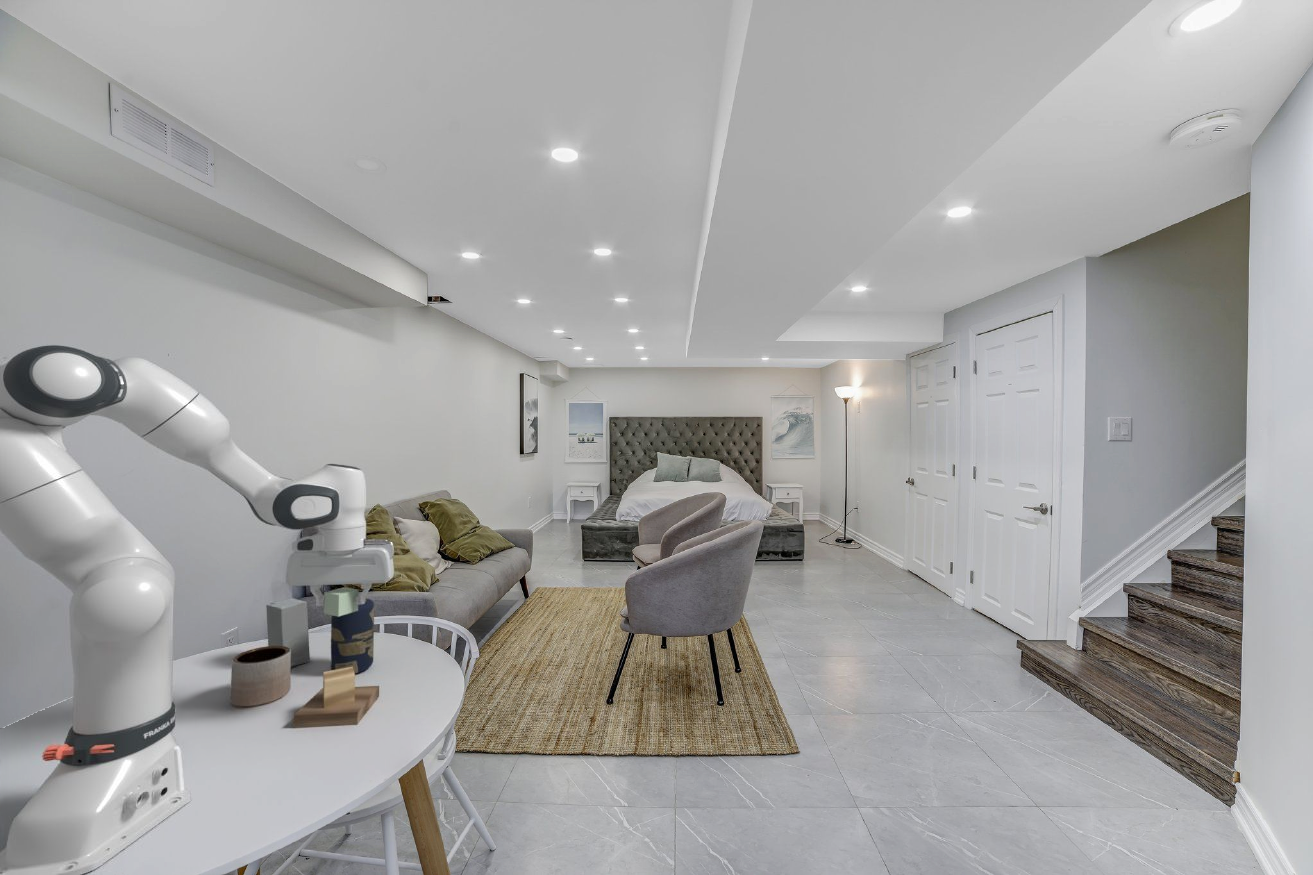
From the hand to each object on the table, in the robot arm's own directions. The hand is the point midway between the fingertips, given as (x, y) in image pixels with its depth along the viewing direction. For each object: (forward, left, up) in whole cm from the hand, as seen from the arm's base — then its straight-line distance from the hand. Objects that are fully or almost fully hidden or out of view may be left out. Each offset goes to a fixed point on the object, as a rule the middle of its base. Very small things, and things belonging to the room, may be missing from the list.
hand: (341, 604), depth 115 cm
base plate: (0, 0, -23) cm, 23 cm away
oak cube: (0, 0, -20) cm, 20 cm away
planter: (+9, +20, -23) cm, 32 cm away
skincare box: (+28, +24, -23) cm, 43 cm away
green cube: (0, 0, -2) cm, 2 cm away
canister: (+22, +6, -23) cm, 32 cm away
